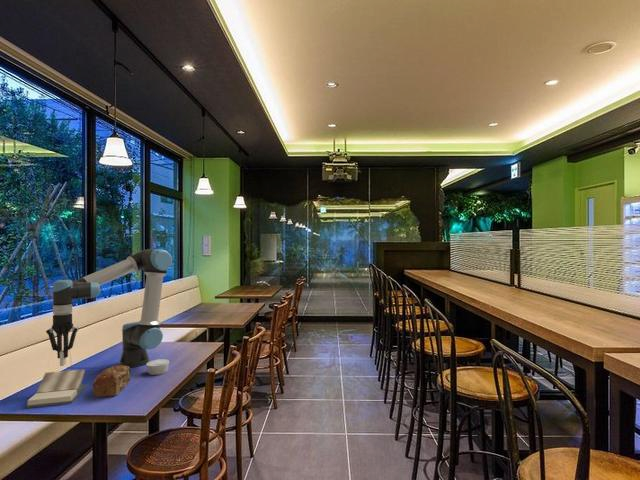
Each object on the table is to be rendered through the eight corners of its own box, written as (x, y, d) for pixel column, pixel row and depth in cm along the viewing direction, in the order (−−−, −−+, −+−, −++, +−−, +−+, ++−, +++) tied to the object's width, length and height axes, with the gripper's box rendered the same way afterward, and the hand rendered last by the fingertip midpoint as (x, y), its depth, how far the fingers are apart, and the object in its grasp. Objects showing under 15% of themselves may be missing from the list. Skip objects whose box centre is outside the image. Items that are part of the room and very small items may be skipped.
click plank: (84, 372, 188) (84, 369, 187) (78, 391, 179) (77, 388, 178) (46, 375, 184) (45, 372, 183) (37, 395, 175) (36, 392, 174)
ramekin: (146, 377, 201) (146, 366, 201) (146, 370, 211) (146, 360, 211) (169, 374, 205) (169, 363, 205) (168, 367, 215) (168, 357, 215)
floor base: (86, 386, 189) (86, 380, 189) (72, 403, 170) (72, 395, 170) (46, 390, 185) (46, 383, 185) (26, 408, 165) (26, 400, 165)
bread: (117, 397, 176) (116, 374, 176) (91, 398, 175) (91, 375, 175) (131, 382, 194) (131, 361, 194) (108, 383, 193) (108, 362, 193)
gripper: (43, 315, 178) (43, 368, 178) (75, 314, 181) (75, 366, 181) (49, 313, 185) (49, 363, 185) (81, 311, 189) (81, 361, 188)
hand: (62, 364), depth 183 cm, fingers closed
